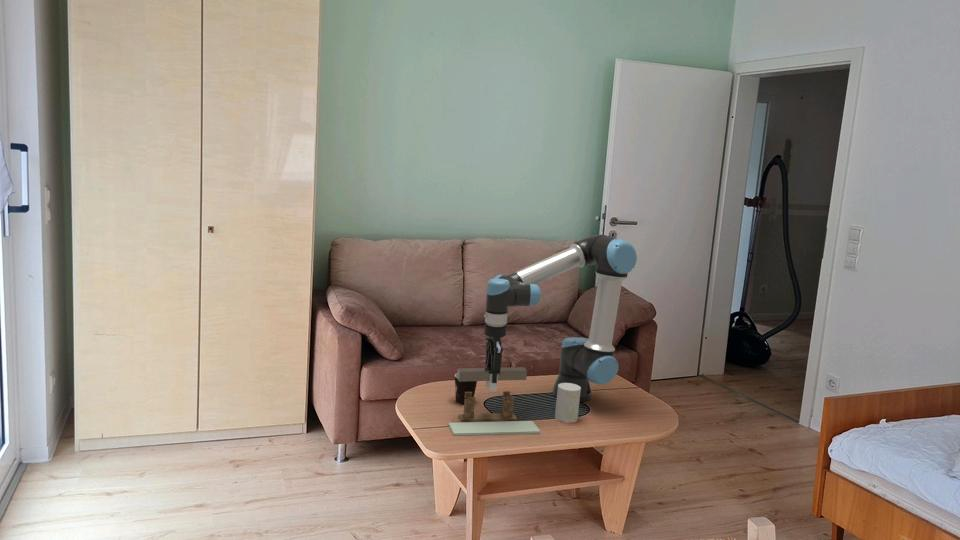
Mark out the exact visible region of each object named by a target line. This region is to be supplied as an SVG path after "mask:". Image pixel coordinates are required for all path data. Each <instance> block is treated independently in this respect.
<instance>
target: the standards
mask: <svg viewBox="0 0 960 540" xmlns="http://www.w3.org/2000/svg"><path fill="white" fill-rule="evenodd" d="M502 397H503V398H502V408H501V412H496V413H491V412H490V413H486V412H485V413H475V409H476V408H475V407H476V396H474V397H472V392H465V398H468V399H465V401H464V405H463V413H459V414H458V419H459V420H460V422H504V421H518V418H517V416H516V415H515V414H514V413H513V411H514V404H515V396H511V391H508V390H507V391H506V390H505V391H504V390H503V392H502Z"/></svg>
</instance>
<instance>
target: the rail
mask: <svg viewBox="0 0 960 540" xmlns="http://www.w3.org/2000/svg"><path fill="white" fill-rule="evenodd" d="M489 372H491V368H487V367H468V368H467V367H466V368H465V367H464V368H457V379H458V380H459V382H463V381H477V382H486V381H489V380H490V374H489ZM527 375H528V370H527V369H526V367H525V366H519V367H517V366H516V367H513V366H511V367H501V370H500V374H498V382H499V381H527Z"/></svg>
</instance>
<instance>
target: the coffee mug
mask: <svg viewBox="0 0 960 540" xmlns="http://www.w3.org/2000/svg"><path fill="white" fill-rule="evenodd" d="M477 384H478V381H463V382H459V380H458V379H457V373H455V374H454V387H455V388H454V392H455V402H456V404H458V405H463V406H464V401H465V399H468V398H465V392H472V397H475V394H476V389H477Z"/></svg>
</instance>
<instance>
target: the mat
mask: <svg viewBox="0 0 960 540" xmlns="http://www.w3.org/2000/svg"><path fill="white" fill-rule="evenodd" d="M447 425H448V427H449V429H450V431H451V433H452V435H453V437H455V436H456V437H457V436H458V437H459V436H464V437H465V436H493V435H494V436H495V434H496V436H497V434H499V435H500V434H502V435H530V434H531V435H532V434H533V435H535V434H536V435H537V434H541V432H542V431H541V430H540V428H539V427H538V426H537V424H535V422H534V421H533V420H517V421H498V422H461V421H460V422H448V424H447ZM499 435H498V436H499Z"/></svg>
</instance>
